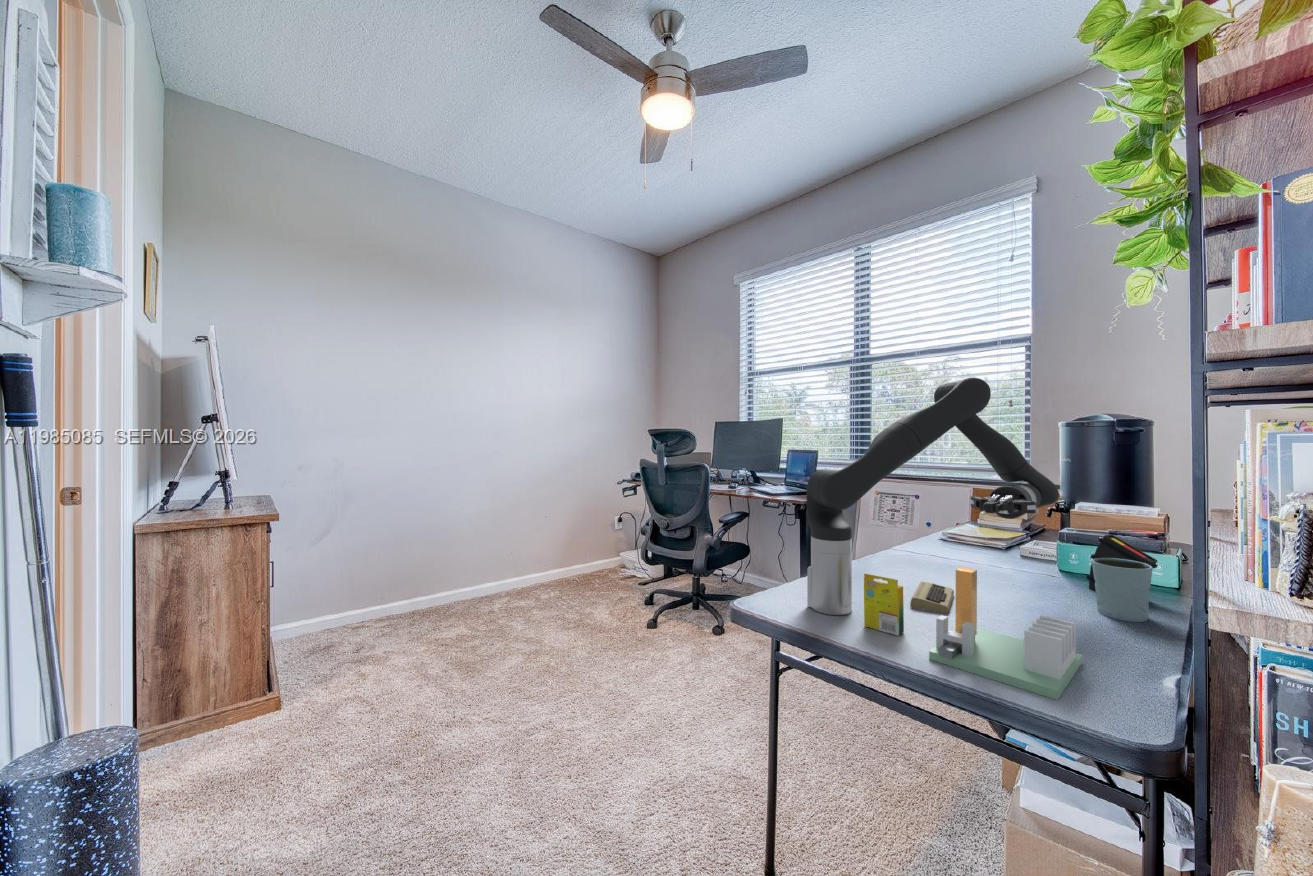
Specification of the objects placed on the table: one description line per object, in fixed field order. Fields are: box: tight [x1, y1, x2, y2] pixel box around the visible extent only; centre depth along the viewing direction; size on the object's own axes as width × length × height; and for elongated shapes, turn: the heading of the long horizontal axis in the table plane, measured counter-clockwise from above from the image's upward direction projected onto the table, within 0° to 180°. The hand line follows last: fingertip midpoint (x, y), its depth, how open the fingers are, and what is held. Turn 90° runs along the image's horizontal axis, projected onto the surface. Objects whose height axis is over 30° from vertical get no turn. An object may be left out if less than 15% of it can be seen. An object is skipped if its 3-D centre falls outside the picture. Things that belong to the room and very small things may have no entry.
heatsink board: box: [928, 614, 1083, 701], centre depth 93 cm, size 19×19×8 cm
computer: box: [910, 581, 955, 615], centre depth 125 cm, size 16×8×3 cm, turn 145°
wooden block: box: [939, 566, 978, 659], centre depth 95 cm, size 3×12×14 cm, turn 131°
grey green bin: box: [1091, 558, 1154, 623], centre depth 115 cm, size 10×10×12 cm
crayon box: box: [863, 573, 905, 637], centre depth 107 cm, size 7×3×12 cm, turn 43°
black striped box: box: [1086, 534, 1159, 591], centre depth 129 cm, size 4×13×15 cm, turn 19°
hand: (989, 508), depth 106 cm, fingers closed
